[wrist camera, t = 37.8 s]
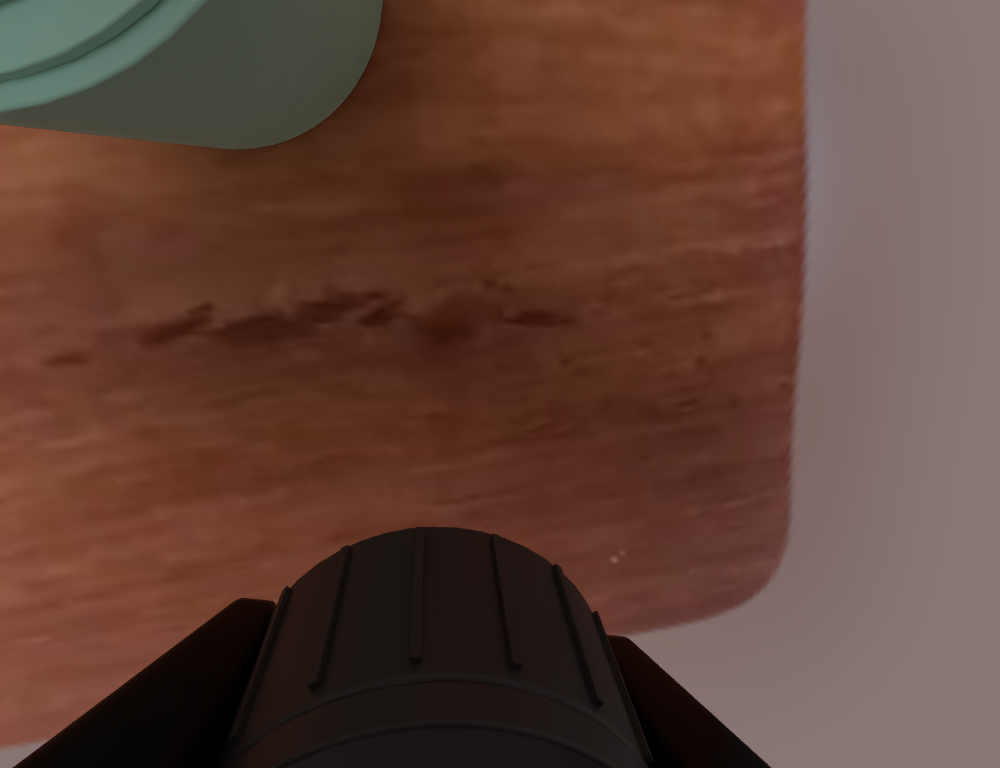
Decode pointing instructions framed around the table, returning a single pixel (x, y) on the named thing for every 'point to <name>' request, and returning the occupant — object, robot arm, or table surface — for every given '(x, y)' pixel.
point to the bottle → (182, 67)
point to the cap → (434, 665)
